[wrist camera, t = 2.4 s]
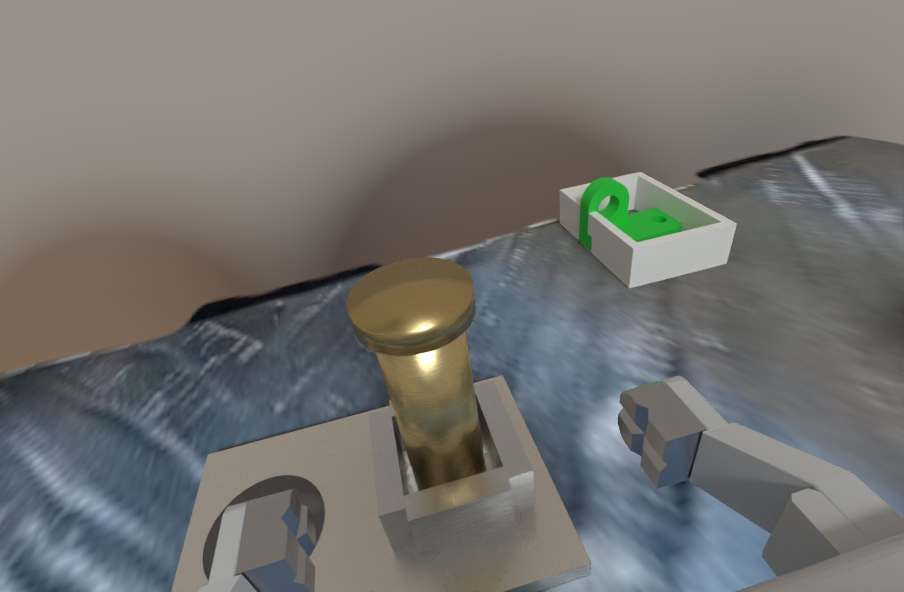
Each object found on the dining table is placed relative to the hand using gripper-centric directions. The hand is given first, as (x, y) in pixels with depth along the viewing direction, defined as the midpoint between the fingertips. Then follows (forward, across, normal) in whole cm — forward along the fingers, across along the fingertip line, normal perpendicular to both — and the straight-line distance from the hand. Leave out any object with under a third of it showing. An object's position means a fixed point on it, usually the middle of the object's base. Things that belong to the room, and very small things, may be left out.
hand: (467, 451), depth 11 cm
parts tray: (+38, -30, +21) cm, 53 cm away
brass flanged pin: (+12, 0, +19) cm, 22 cm away
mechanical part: (+38, -30, +21) cm, 53 cm away
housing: (+12, +6, +20) cm, 25 cm away
